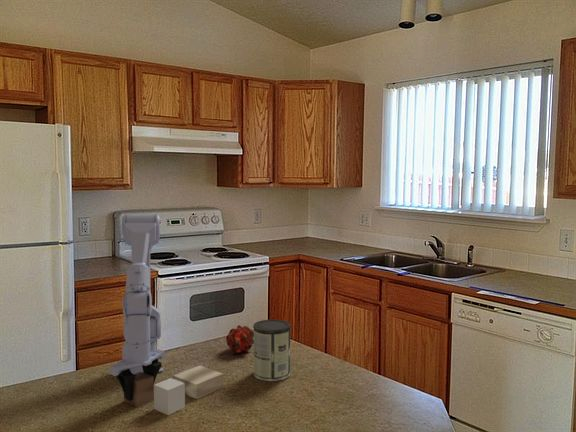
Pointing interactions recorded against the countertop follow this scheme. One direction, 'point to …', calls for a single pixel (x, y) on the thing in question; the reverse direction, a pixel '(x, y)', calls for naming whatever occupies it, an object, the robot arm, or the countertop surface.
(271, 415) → the countertop surface
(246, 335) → the dragon fruit
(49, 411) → the countertop surface
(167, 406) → the off-white block
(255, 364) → the coffee can
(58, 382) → the countertop surface
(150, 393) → the walnut block
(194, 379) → the birch base block
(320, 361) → the countertop surface
